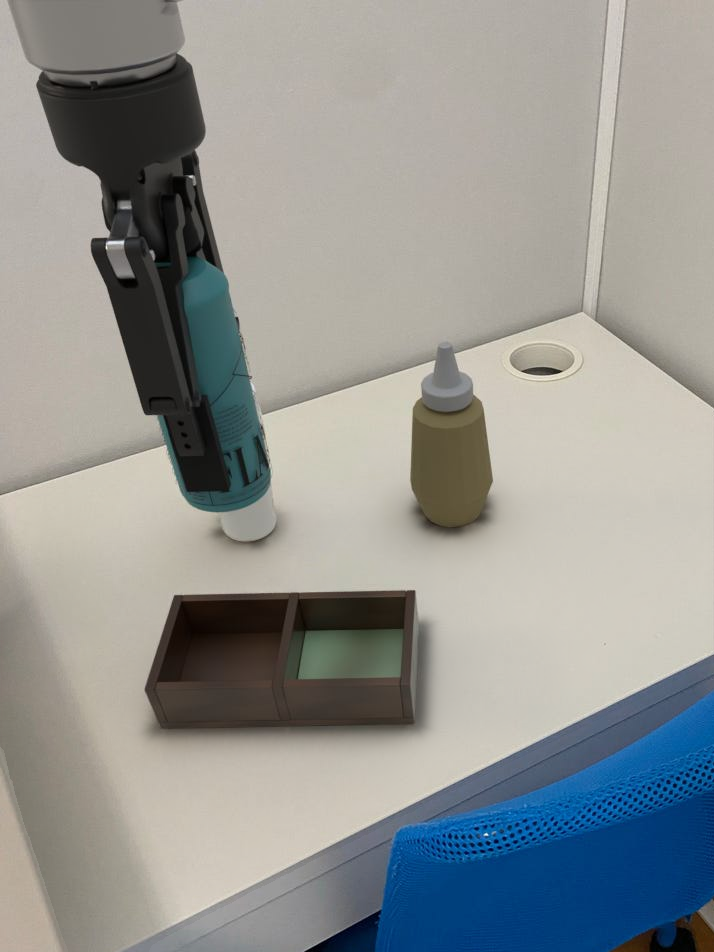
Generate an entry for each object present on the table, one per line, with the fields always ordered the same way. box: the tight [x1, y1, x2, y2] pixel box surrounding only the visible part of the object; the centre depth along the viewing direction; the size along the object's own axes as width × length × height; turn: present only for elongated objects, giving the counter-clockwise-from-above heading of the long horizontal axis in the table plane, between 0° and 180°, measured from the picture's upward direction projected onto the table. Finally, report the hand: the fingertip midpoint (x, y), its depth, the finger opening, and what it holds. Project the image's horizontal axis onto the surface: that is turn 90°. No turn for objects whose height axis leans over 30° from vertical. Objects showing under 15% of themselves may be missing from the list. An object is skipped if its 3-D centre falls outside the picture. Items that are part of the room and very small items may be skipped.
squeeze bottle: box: [409, 341, 494, 528], centre depth 87 cm, size 8×8×18 cm
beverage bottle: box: [155, 205, 274, 513], centre depth 58 cm, size 6×7×20 cm
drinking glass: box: [217, 380, 278, 542], centre depth 87 cm, size 7×7×15 cm
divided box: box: [143, 589, 420, 729], centre depth 77 cm, size 20×11×5 cm, turn 90°
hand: (219, 456), depth 62 cm, fingers closed on beverage bottle, 6 cm apart
